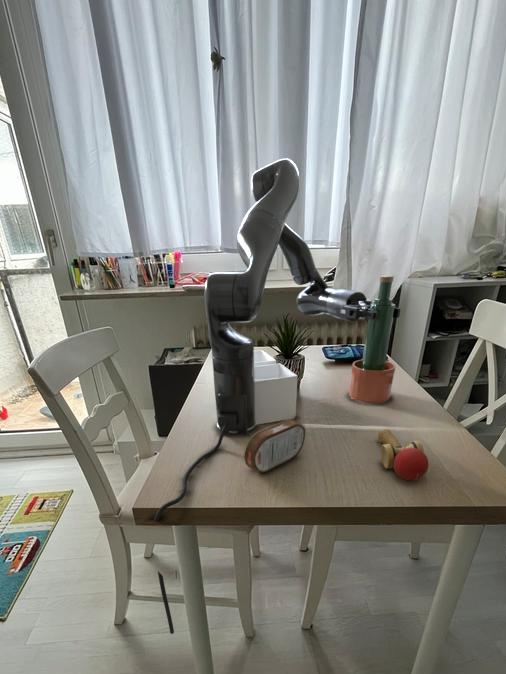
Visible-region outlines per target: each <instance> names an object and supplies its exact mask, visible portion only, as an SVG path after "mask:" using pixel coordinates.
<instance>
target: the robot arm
mask: <svg viewBox="0 0 506 674" xmlns="http://www.w3.org/2000/svg"><path fill="white" fill-rule="evenodd" d="M300 181H301V178H300V173H299V170H298V167H297V165H296V163H294V161H293V160H291V159H290V158H281V159H278V160H276V161H274V162H272V163H269V164H268V165H265V166H264V167H261V168H260V169H257V170H255V171H254V173H253V174H252V176H251V192H252V195H253V199H254V201H255V204H253V206H251V208H250V209H249V210H248V211H247V213H246V214H245V215H244V217H243V219H242V222H241V225H240V227H239V229H238V232H237V235H236V248H237V251H238V254H239V256H240V258H241V260H242V262H243V263H244V265H245V266H246V268H247V270H245V271H238V272H237V271H232V272H231V271H229V272H227V271H225V272H224V271H223V272H221V271H219V272H211V273H210V274H209V275H208V276H207V277H206V279H205V283H204V305H205V306H204V307H205V313H206V321H207V329H208V341H209V344H210V347H211V348H210V349H211V358H212V373H213V386H214V399H215V400H214V401H215V412H216V428H217V430H218V431H220V434H219V436H218V440H217V443H216V444H215V446H214V447H213V448H212V449H211V450H209V451H208V452H206V453H204V454H202V455H200V457H199V458H197V460H195V462H193V464H191V466H190V467H188V469H187V471H186V472H185V474H184V476H183V478H182V490H181V492H180V494H179V496H177V497H176V498H175V499H172V500H169V501H168V502H166V503H164V504H162V506H161V507H159V509H158V510H157V512H156V514H155V515H154V520H153V521H155V522H158V521H159V520H160V518H161V516H162V514H163V512H164V511H165V510H166V509H168V508H170V507H171V506H174V505H176V504H178V503H180V502H181V501H182V500H183V499H184V497H185V496H186V493H187V485H188V479H189V477H190V475H191V473H192V472H193V471H194V469H195V468H196V467H197V466H198V465H199V464H200V463H201V462H202V461H203V460H205V459H206V458H208V457H210V456H212V455H213V454H214V453H216V452H217V450H218V449H219V448H220V446H221V445H222V443H223V439H224V436H225V435H242V436H243V435H245V436H246V435H247V434H248V433H250V432H252V431H253V430H255V428H256V426H257V424H256V421H255V384H254V351H255V345H254V341H253V340H252V339H251V338H249V337H247V336H245V335H242V334H241V333H239V332H238V331H236V330H235V329H234V328H233V327H232V326H231V324H230V323H250V322H252V321H255V319H256V317H257V316H258V314H259V311H260V308H261V304H262V300H263V296H264V292H265V287H266V283H267V280H268V279H267V278H268V274H269V271H270V268H271V264H272V262H273V260H274V256H275V254H276V252H277V250H278V246H279V248H280V250H281V251H282V254H283V256H284V259H285V260H286V261H285V262H286V264H287V266H288V269H289V272H290V274H291V276H292V279H293V281H294V283H295V284H296V285H297V286H304V285H307V284H309V283H310V284H309V285H308V286H306V287H305V288H304V289H303V290H301V291H300V292H299V293H298V295H297V296H296V300H295V304H296V308H297V310H299V311H300V312H301V314H303V315H306V316H319V315H320V316H321V315H329V316H331V317H333V318H336V319H339V320H343V321H345V322H350V323H356V322H358V321H360V320H366V319H367V320H368V319H370V320H374V321H376V320H378V319H379V311H377V310H373V309H370V304H372V303H374V300H371V299H367V296H366V295H365V294H364V293H363V292H361V291H356V290H351V289H347V288H346V289H345V288H340V289H339V288H335V287H329V285H328V284H327V282H326V281H325V279H324V278H323V277H322V275H321V274H320V272H319V271H318V269H317V267H316V264H315V260H314V257H313V255H312V252H311V249H310V247H309V245H308V243H306V241H305V240H304V239H303V238H302V237H301V236H300V235H299V234H298V233H296V232H295V230H293V229H292V228H291V227H289V225H287V223H286V222H287V220H288V218H289V215H290V213H291V212H292V210H293V208H294V207H295V204H296V202H297V200H298V198H299V194H300V189H301V188H300V186H301V185H300V184H301V182H300ZM400 315H401V308H400V307H396V306H395V310H394V316H393V319H398V318H400ZM157 575H158V582H159V586H160V592H161V597H162V601H163V605H164V610H165V614H166V618H167V623H168V628H169V633H170V635H173V634H174V633H175V629H174V624H173V619H172V615H171V610H170V606H169V601H168V597H167V591H166V586H165V581H164V575H163V574H162V573H161V572H160V571H159V570H157Z"/></svg>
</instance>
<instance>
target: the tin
mask: <svg viewBox="0 0 506 674" xmlns="http://www.w3.org/2000/svg"><path fill="white" fill-rule="evenodd" d="M305 438H306V428H305V426H304V425H303V424H301V423H300V422H298V421H296V420H295V419H287V420H281V421H279V422H278V423H276V424H273V425H270V426H267V427H265V428H263V429H260V430H257V432H255V433H254V434H253V435H252V436H251V438H250V439H249V441H248V442H247V444H246V447H245V449H244V453H243V454H244V455H243V459H244V463H245V465H246V466H247V467H248V468H250V469H252V470H254V471H255V472H257V473H261V474H262V473H266V472H268V471H271V470H273V469H275V468H276V467H278V466H281V465H283V464H285V463H287V462H289V461H291V460H293V459H294V458H296V457H297V456H298V454H299V453H300V452H301V450H302V449H303V447H304V445H305Z"/></svg>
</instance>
